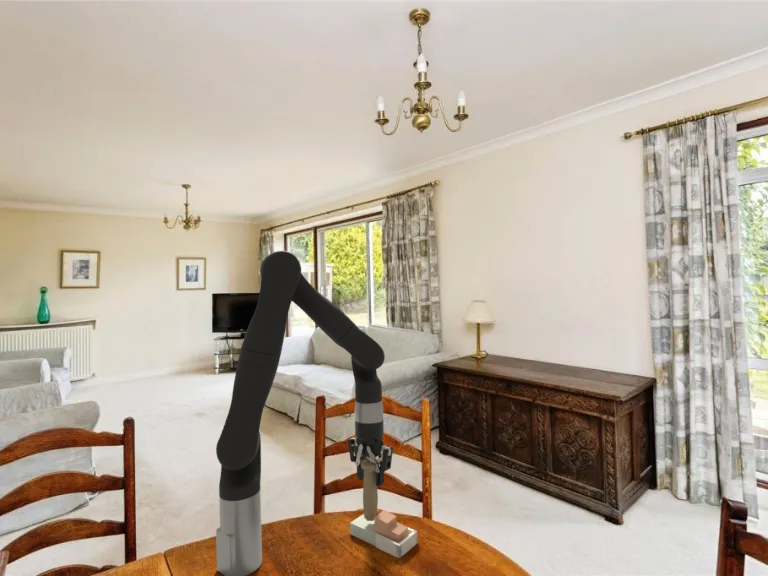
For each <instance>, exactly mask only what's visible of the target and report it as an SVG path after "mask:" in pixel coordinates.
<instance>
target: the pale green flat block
mask: <svg viewBox="0 0 768 576" xmlns="http://www.w3.org/2000/svg"><path fill="white" fill-rule="evenodd" d="M374 521H375V519H374ZM374 521H367V520H366V519H365V518H364V513H362V514H361V515H360V516H359V517H357V518H355V519H354V520H352V521H351V522H350V523H349V529H350V531H349V533H350V534H349V535H351V536H353V537H355V538H358V539H359V540H361V541H364V542H366V543H368V544H370V545H372V546H374V547H376V536H375V535H376V534H380V533H378V532H376V531H374ZM380 535H382V534H380ZM382 536H384V535H382ZM384 537H386V536H384Z"/></svg>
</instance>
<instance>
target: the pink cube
mask: <svg viewBox="0 0 768 576" xmlns="http://www.w3.org/2000/svg"><path fill="white" fill-rule="evenodd" d="M396 522H397V515H395V514H394V513H391V512H390V511H387V510H385V509H383V510H381V512H380V513H377V516H375V521H374V531H376V532H378V533H380V534H382V535H384V536H386V537H387V529H388V528H389V527H391V526H392V525H393V524H394V523H396Z"/></svg>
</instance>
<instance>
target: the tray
mask: <svg viewBox="0 0 768 576" xmlns="http://www.w3.org/2000/svg"><path fill="white" fill-rule="evenodd" d="M375 536H376V546H375V548H377V549H378V550H381V551H383V552H385V553H387V554H388V555H392V556H393V557H395V558H397V559H401V558H402V557H403V556H405V554H407V553H408V552H409V551H410V550H411V549H412V548H414V547H415V546H416V545H417V544H418V531H417V530H416V529H413V528H412V527H408V533H407V537H405V538H404V539H403V540H402V541H400V542H399V543H397V542H395V541H393V540H391V539H389V538H387V537H384V536H382V535H380V534H376V535H375Z"/></svg>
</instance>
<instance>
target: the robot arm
mask: <svg viewBox="0 0 768 576" xmlns="http://www.w3.org/2000/svg"><path fill="white" fill-rule="evenodd" d="M259 273H260V278H261V280H260V289H259V294H258V300H257V304H256V308H255V310H254V312H253V315H252V317H251V319H250V322H249V324H248V326H247V329H246V332H245V335H244V338H243V340H242V343H241V347H240V351H239V356H238V360H237V364H236V365H237V366H236V370H235V374H234V381H233V386H232V387H233V388H232V394H231V401H230V406H229V409H228V413H227V417H226V419H225V422H224V425H223V427H222V431H221V433H220V435H219V438H218V440H217V443H216V448H215V449H216V450H215V452H216V458H217V460H218V463H219V464H220V465H221V466H220V467H221V468H220V477H219V483H218V484H219V485H218V494H219V496H218V497H219V499H218V501H219V527H217V528H216V530H215V534H216V535H215V537H216V538H215V540H216V543H215V545H216V546H215V547H216V548H215V549H216V571H218V572H219V573H220V574H222V575H223V576H249V575H250V574H253V573H254V572H255V571H257V570H258V569H259V568H260V567H261V565H262V562H263V551H262V550H263V547H262V545H263V544H262V500H261V498H262V497H261V496H262V495H261V491H262V490H261V475H262V445H261V444H262V442H261V441H262V439H261V438H262V437H261V433H260V428H261V420H262V415H263V412H264V407H265V405H266V403H267V400H268V397H269V395H270V392H271V390H272V387H273V384H274V381H275V377H276V375H277V371H278V367H279V363H280V360H281V355H282V350H283V344H284V340H285V335H286V334H285V333H286V329H287V320H288V316H289V310H290V307H291V304H292V302H293V303H294V304H295V305H296V306H298V308H299V309H300V310H301V311H303V312H304V313H305V315H307V316H308V317H309V318H310V319H311V321H313V322H314V324H316V326H317V327H318V328H319V329H320V330H321V331H322V332H324V334H326V336H328V337H329V338H330V340H332V341H333V343H335V344H336V345H338V346H339V347H340V348H343V349H344V350H345V351H347V353H348V354H349V355H350V357H351V358H350V362H351V368H352V373H353V379H354V383H355V385H354V386H355V388H354V393H355V394H354V396H355V397H354V398H355V401H354V402H355V404H354V435H355V436H353V437H351V438H348V440H347V445H348V451H349V459H350V462H351V463H354V464H355V466H356V476H357V480H358V481H362V480H363V481H364V470H363V469H362V468H361V459H363V458H366V457H369V458H371V461H372V464H374V465H375V469H376V472H375V475H376V486H377V488H380V487H381V486H383V484H384V483H385V472H386V471H388V470H391V468H392V459H393V452H394V448H393V447H392V446H391V445H390V446H387V445H385V443H384V442H383V436H384V435H385V434H384V433H385V431H384V430H385V428H384V407H383V406H384V405H383V392H382V391H383V388H382V381H381V379H380V378H379V376H378V374H377V370H378V369H379V368H381V367H382V366H383V364H384V362H385V358H386V357H385V351H384V350H383V348H382V347H381V345H380V343H378V342H377V341H376V340H375V339H373V337H371V336H370V335H368V334H367V333H366V332H364V331H363V330H362V329H361V328H359V327H358V325H357V324H356V323H355V322H354V321H353V320H352V319H351V318H350V317H349V316H348V315H347V314H346V313H344V311H343V310H341V309H340V308H339V307H338V306H337V305H335V304H334V303H333V302H331V301H330V299H328V298H327V297H325V296H324V295H323V294H321V293H320V292H319V291H318V290H317V289H316V288H315V287H314V286H313V285H312V284H311V283H310V282H309V281H308V279H306V277H305V276H304V275H303V274H302V266H301V263H300V260H299V259H298V258H297V256H296V255H295V254H294V253H292V252H289V251H287V250H277V251H273V252H272V253H270V254H268V255H267V256H265V258H264V259H263V260H262V262H261V263H260V270H259ZM375 457H377V459H376V458H375ZM378 462H379V464H378Z"/></svg>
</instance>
